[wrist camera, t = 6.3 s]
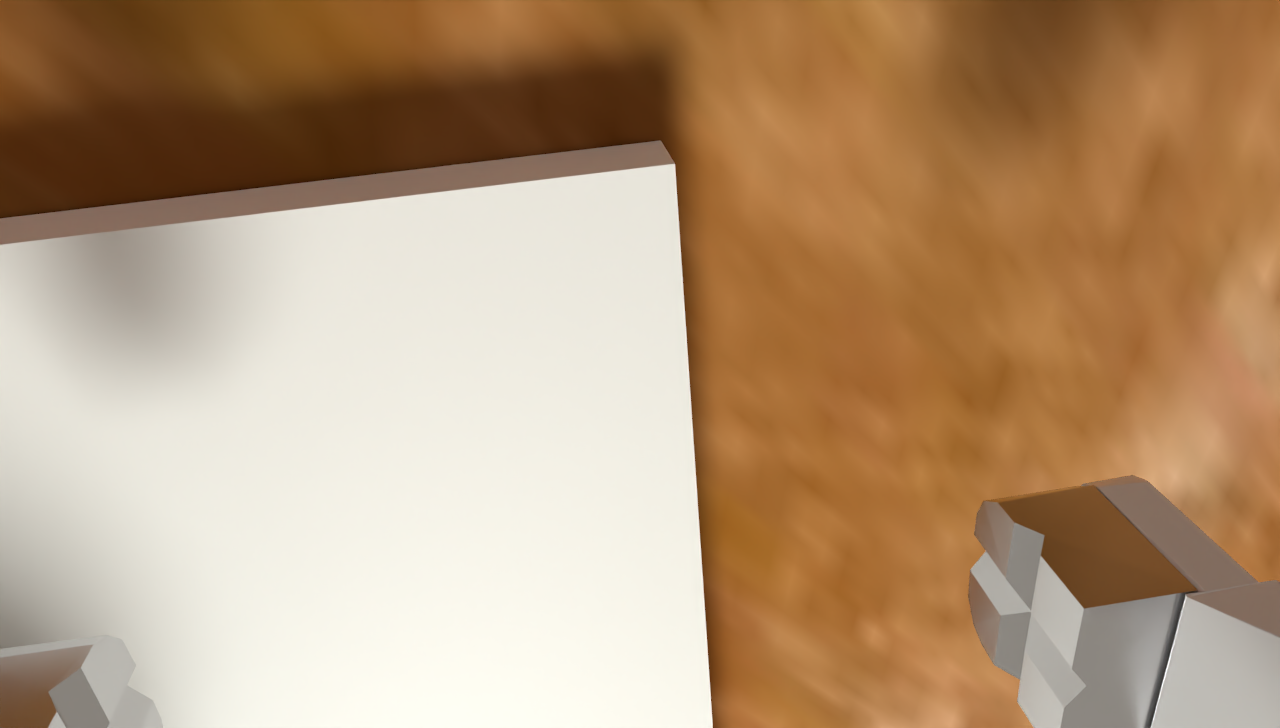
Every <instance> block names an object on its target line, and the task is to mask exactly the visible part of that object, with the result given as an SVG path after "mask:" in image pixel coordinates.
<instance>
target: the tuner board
mask: <svg viewBox="0 0 1280 728" xmlns="http://www.w3.org/2000/svg"><path fill="white" fill-rule="evenodd" d="M103 635H108V636H112V637H116V638H120V639H122V640H123V642H124V644H125V646H126V648H127V649H128V651H129V653H130V655H131V657H132V659H133V660H134V662H135V664H136V667H135V669H134V671H133V673H132V676H131V678H130V680H129V682H128V684H127V686H129V687H131V688H133V689H134V690H136V691H138V692H140V693H141V694H143V695H145V696H146V697H148V698H150V699H152V700H153V702H154V704H155V706H156V708H157V710H158V713H159V715H160V717H161V719H162V724H163V728H713V723H712V708H711V693H710V678H709V663H708V648H707V633H706V618H705V603H704V589H703V574H702V559H701V544H700V529H699V514H698V499H697V484H696V469H695V455H694V440H693V425H692V410H691V395H690V380H689V365H688V350H687V335H686V320H685V306H684V291H683V276H682V261H681V246H680V231H679V216H678V201H677V186H676V172H675V163H674V161H673V160H672V158H671V156H670V155H669V153H668V151H667V150H666V148H665V146H664V145H663V143H662V142H661V140H660V141H652V142H643V143H635V144H626V145H618V146H609V147H601V148H592V149H584V150H575V151H567V152H559V153H550V154H542V155H533V156H525V157H516V158H508V159H499V160H491V161H482V162H474V163H465V164H457V165H448V166H440V167H432V168H423V169H415V170H406V171H398V172H389V173H381V174H372V175H364V176H355V177H347V178H338V179H330V180H321V181H313V182H304V183H296V184H288V185H279V186H271V187H262V188H254V189H245V190H237V191H228V192H220V193H211V194H203V195H194V196H186V197H177V198H169V199H161V200H152V201H144V202H135V203H127V204H118V205H110V206H101V207H93V208H84V209H76V210H67V211H59V212H50V213H42V214H33V215H25V216H17V217H8V218H0V649H4V648H12V647H19V646H27V645H35V644H42V643H50V642H57V641H65V640H73V639H80V638H88V637H96V636H103Z"/></svg>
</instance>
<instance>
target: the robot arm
mask: <svg viewBox="0 0 1280 728" xmlns="http://www.w3.org/2000/svg"><path fill="white" fill-rule="evenodd" d="M974 535H975V536H976V538H977V539H978V541H979V542H980V543H981V545H982V546H983V548H984V549H985V550H986V552H985V553H984V554H983V555H982V557H981V558H980V559H979V560H978V561H977V563H976V564H975V565H974V566H973V567H972V569H971V570H970V580H969V594H968V598H969V603H970V608H971V614H972V619H973V624H974V627H975V629H976V631H977V634H978V636H979V639H980V641H981V644H982V646H983V647H984V649H985V651H986V652H987V654H988V656H989V657H990V659H991V660H992V662H993V664H994V665H995V666H997V667H999V668H1001V669H1002V670H1004V671H1006V672H1007V673H1009V674H1011V675H1013V676H1014V677H1016V678H1018V679H1020V686H1019V693H1018V699H1017V702H1018V703H1019V705H1020V707H1021V708H1022V710H1023V711H1024V713H1025V714H1026V716H1027V718H1028V719H1029V721H1030V722H1031V724H1032V725H1033V727H1034V728H1280V582H1278V581H1276V580H1273V581H1266V582H1260V583H1259V582H1258V581H1256V580H1255V579H1254V578H1253V577H1252V576H1251V575H1250V574H1249V573H1248V572H1247V571H1246V570H1244V569H1243V568H1242V567H1241V566H1240V565H1239V564H1238V563H1237V562H1236V561H1235V560H1233V559H1232V558H1231V557H1230V556H1229V555H1228V554H1227V553H1226V552H1225V551H1224V550H1223V549H1221V548H1220V547H1219V546H1218V545H1217V544H1216V543H1215V542H1214V541H1213V540H1212V539H1210V538H1209V537H1208V536H1207V535H1206V534H1205V533H1204V532H1203V531H1202V530H1201V529H1200V528H1198V527H1197V526H1196V525H1195V524H1194V523H1193V522H1192V521H1191V520H1190V519H1189V518H1188V517H1186V516H1185V515H1184V514H1183V513H1182V512H1181V511H1180V510H1179V509H1178V508H1177V507H1175V506H1174V505H1173V504H1172V503H1171V502H1170V501H1169V500H1168V499H1167V498H1166V497H1165V496H1163V495H1162V494H1161V493H1160V492H1159V491H1158V490H1157V489H1156V488H1155V487H1154V486H1153V485H1151V484H1150V483H1149V482H1148V481H1146V480H1144V479H1141V478H1139V477H1136V476H1133V475H1131V476H1125V477H1119V478H1114V479H1108V480H1102V481H1096V482H1091V483H1085V484H1083V485H1081V486H1074V487H1068V488H1062V489H1055V490H1049V491H1043V492H1036V493H1030V494H1024V495H1018V496H1011V497H1005V498H999V499H993V500H986V501H983V503H982V505H981V507H980V509H979V511H978V513H977V517H976V525H975V532H974ZM135 667H136V664H135V662H134V660H133V659H132V657H131V655H130V653H129V651H128V649H127V648H126V646H125V644H124V642H123V640H122V639H120V638H116V637H112V636H108V635H103V636H96V637H88V638H80V639H73V640H65V641H57V642H50V643H42V644H35V645H27V646H19V647H12V648H4V649H0V728H163V724H162V719H161V717H160V715H159V713H158V710H157V708H156V706H155V704H154V702H153V700H152V699H150V698H148V697H146V696H145V695H143V694H141V693H140V692H138V691H136V690H134V689H133V688H131V687H129V686H127V684H128V682H129V680H130V678H131V676H132V673H133V671H134V669H135Z"/></svg>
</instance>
